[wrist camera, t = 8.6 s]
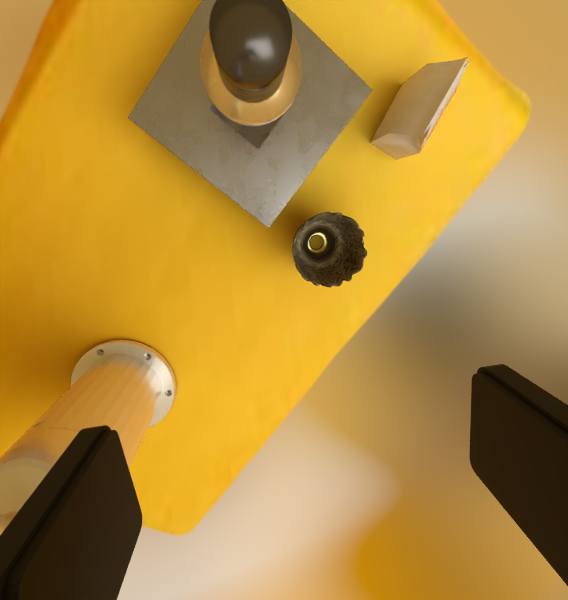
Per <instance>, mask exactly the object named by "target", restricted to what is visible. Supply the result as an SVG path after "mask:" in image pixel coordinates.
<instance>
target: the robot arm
mask: <svg viewBox="0 0 568 600" xmlns="http://www.w3.org/2000/svg"><path fill="white" fill-rule="evenodd" d="M102 350H103V351H102ZM148 354H150V355H148ZM70 384H71V387H70V388H69V389H68V390H67V391H66V392H65V393H64V394H63V395H62V396H61V397H60V398H59V399H58V400H57V401H56V402H55V403H54V404H53V405H52V406H51V407H50V408H49V409H48V410H47V411H46V412H45V413H44V414H43V415H42V416H41V417H40V418H39V419H38V420H37V421H36V422H35V423H34V424H33V425H32V426H31V427H30V428H29V429H28V430H27V431H26V432H25V433H24V434H23V435H22V436H21V437H20V439H19V440H18V441H17V442H15V443H14V444H13V445H12V446H11V447H10V448H9V449H8V451H7V452H6V453H5V454H4V455H3V456H2V457H1V458H0V600H117V597H118V594H119V591H120V588H121V585H122V582H123V579H124V576H125V574H126V571H127V568H128V565H129V562H130V559H131V556H132V553H133V551H134V548H135V545H136V542H137V539H138V536H139V533H140V530H141V526H142V513H141V509H140V505H139V502H138V499H137V495H136V492H135V489H134V485H133V482H132V478H131V475H130V472H129V467H130V465H131V463H132V461H133V459H134V457H135V455H136V452H137V450H138V448H139V446H140V444H141V442H142V440H143V437H144V435H145V433H146V431H147V429H148V428H150V427H152V426H154V425H155V424H157V423H158V422H160V421H161V420H162V419H163V418H164V417H165V416H166V415H167V413H168V412H169V410H170V408H171V407H172V404H173V402H174V399H175V395H176V380H175V375H174V373H173V371H172V368H171V366H170V365H169V364H168V362H167V361H166V359H165V358H164V357H163V356H162V355H161V354H160V353H158V352H157V351H155V350H154V349H152V348H151V347H149V346H147V345H144V344H142V343H139V342H135V341H130V340H112V341H108V342H104V343H101V344H99V345H97V346H95V347H93V348H92V349H90V350H89V351H88V352H86V353H85V354H84V355H83V356H82V357H81V358H80V359H79V361H78V362H77V364H76V365H75V367H74V370H73V372H72V376H71V382H70ZM169 390H170V391H169ZM470 463H471V466H472V468H473V470H474V472H475V473H476V475H477V476H478V477H479V478H480V479H481V481H482V482H483V483H484V484H485V485H486V487H487V488H488V489H489V490H490V492H491V493H492V494H493V495H494V497H495V498H496V499H497V500H498V501H499V503H500V504H501V505H502V506H503V508H504V509H505V510H506V511H507V512H508V514H509V515H510V516H511V517H512V518H513V520H514V521H515V522H516V523H517V525H518V526H519V527H520V528H521V529H522V531H523V532H524V533H525V534H526V536H527V537H528V538H529V539H530V540H531V542H532V543H533V544H534V545H535V547H536V548H537V549H538V550H539V551H540V553H541V554H542V555H543V556H544V557H545V559H546V560H547V561H548V562H549V564H550V565H551V566H552V567H553V569H554V570H555V571H556V572H557V573H558V575H559V576H560V577H561V578H562V579H563V581H564V582H565V583H566V584H567V586H568V405H567V404H565V403H563V402H562V401H560V400H559V399H557V398H556V397H554V396H553V395H551V394H550V393H548V392H546V391H545V390H543V389H542V388H540V387H539V386H537V385H536V384H534V383H532V382H531V381H529V380H528V379H526V378H524V377H523V376H521V375H520V374H519V373H517V372H515V371H514V370H512V369H511V368H509V367H508V366H506V365H503V364H499V365H493V366H486V367H481V368H479V369H478V371H477V374H474V375H473V377H472V395H471V429H470Z"/></svg>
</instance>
